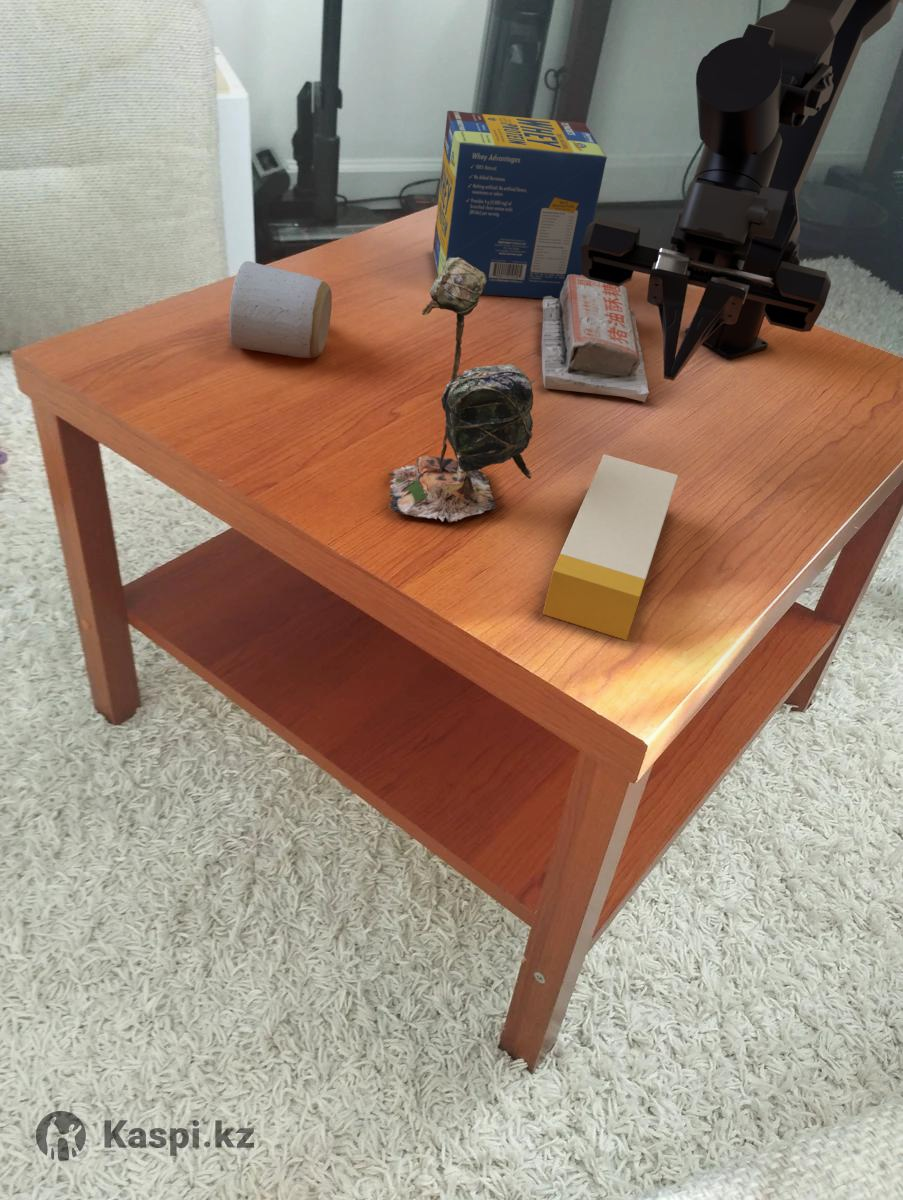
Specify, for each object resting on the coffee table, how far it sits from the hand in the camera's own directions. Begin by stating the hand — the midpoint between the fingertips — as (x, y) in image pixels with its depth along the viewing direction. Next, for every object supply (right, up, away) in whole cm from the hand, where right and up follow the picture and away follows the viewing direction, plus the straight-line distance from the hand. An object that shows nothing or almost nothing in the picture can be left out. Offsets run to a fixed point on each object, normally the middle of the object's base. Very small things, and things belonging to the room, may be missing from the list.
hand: (668, 378), depth 77 cm
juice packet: (-2, -8, +2) cm, 9 cm away
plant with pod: (-17, -9, +1) cm, 19 cm away
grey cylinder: (-33, +7, +17) cm, 38 cm away
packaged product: (-3, +7, +23) cm, 24 cm away
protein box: (-11, +19, +35) cm, 41 cm away
